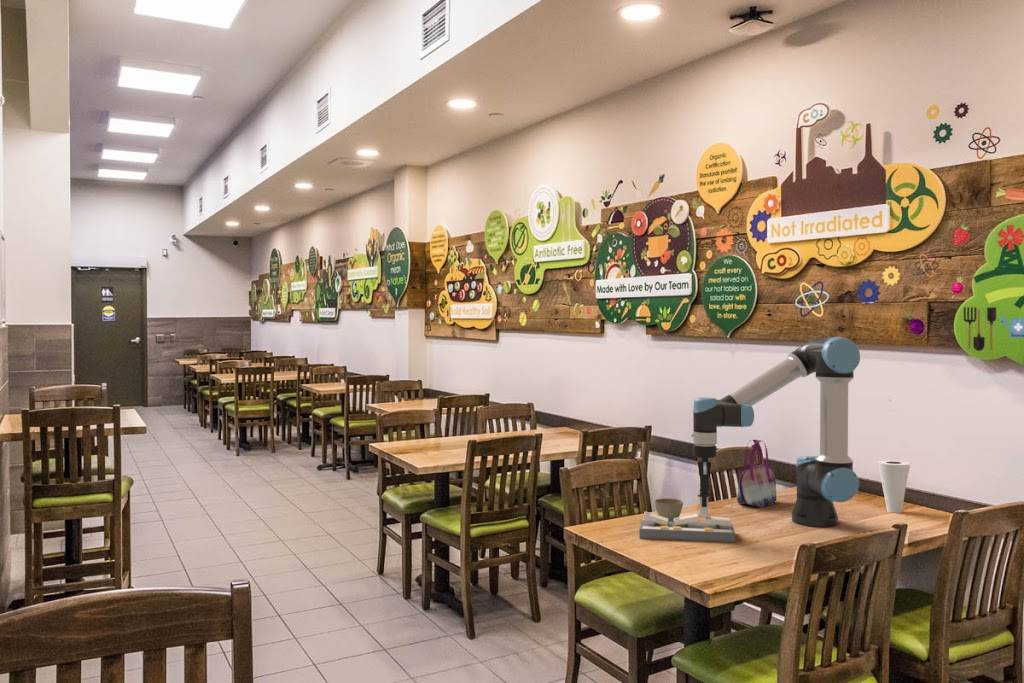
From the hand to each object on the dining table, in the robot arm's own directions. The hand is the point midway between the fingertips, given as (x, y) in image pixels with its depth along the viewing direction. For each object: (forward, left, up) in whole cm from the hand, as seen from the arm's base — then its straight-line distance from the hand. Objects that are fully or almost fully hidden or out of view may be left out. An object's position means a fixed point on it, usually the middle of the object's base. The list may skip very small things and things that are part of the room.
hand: (703, 516), depth 246 cm
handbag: (-21, -51, -7) cm, 56 cm away
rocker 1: (+16, 0, -1) cm, 16 cm away
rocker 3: (-4, 0, -1) cm, 5 cm away
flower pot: (+12, -18, -7) cm, 23 cm away
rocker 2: (+6, 0, -1) cm, 6 cm away
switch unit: (+6, +1, -6) cm, 9 cm away
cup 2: (-69, -46, -7) cm, 84 cm away
